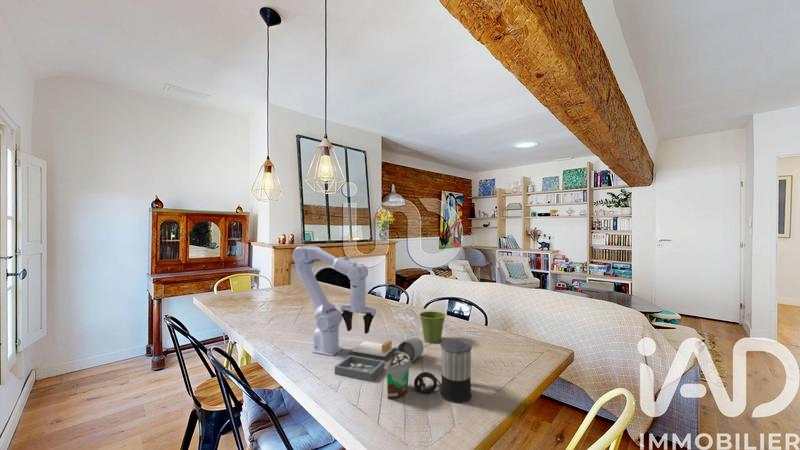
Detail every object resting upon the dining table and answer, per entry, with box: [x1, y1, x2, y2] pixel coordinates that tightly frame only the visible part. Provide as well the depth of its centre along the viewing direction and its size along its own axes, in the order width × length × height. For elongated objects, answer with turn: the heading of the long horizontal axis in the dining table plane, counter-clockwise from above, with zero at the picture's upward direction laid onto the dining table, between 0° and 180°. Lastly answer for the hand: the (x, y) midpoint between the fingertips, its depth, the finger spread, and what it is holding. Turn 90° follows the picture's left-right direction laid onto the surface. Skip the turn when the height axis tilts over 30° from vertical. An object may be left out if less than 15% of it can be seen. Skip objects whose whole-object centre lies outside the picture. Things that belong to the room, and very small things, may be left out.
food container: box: [386, 351, 412, 400], centre depth 97 cm, size 12×6×10 cm, turn 168°
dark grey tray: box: [334, 354, 386, 382], centre depth 110 cm, size 14×10×3 cm
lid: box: [351, 339, 396, 357], centre depth 126 cm, size 14×10×4 cm
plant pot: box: [418, 310, 447, 343], centre depth 139 cm, size 12×12×11 cm
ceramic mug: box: [397, 337, 424, 363], centre depth 121 cm, size 11×8×8 cm
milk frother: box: [413, 339, 473, 403], centre depth 96 cm, size 14×16×15 cm
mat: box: [347, 347, 398, 362], centre depth 127 cm, size 17×12×1 cm
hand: (358, 331), depth 122 cm, fingers open, 7 cm apart
